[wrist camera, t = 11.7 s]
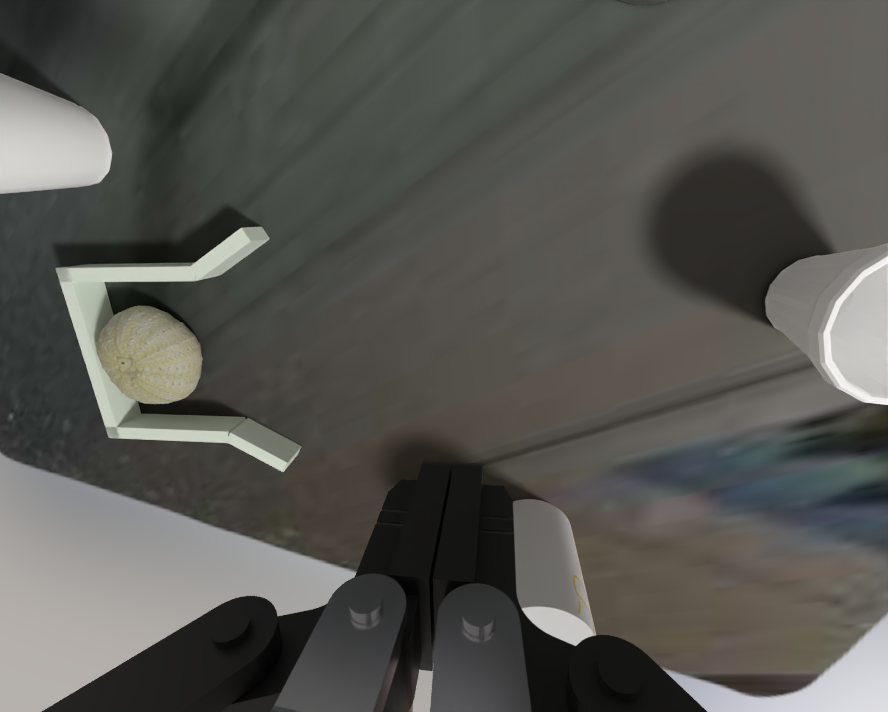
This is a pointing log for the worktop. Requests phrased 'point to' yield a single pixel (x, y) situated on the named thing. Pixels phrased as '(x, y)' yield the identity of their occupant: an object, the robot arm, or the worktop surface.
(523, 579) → the cup
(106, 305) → the flared u-shaped rail
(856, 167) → the worktop surface
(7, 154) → the foam cup
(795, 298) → the cup
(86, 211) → the worktop surface
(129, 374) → the sea urchin shell
